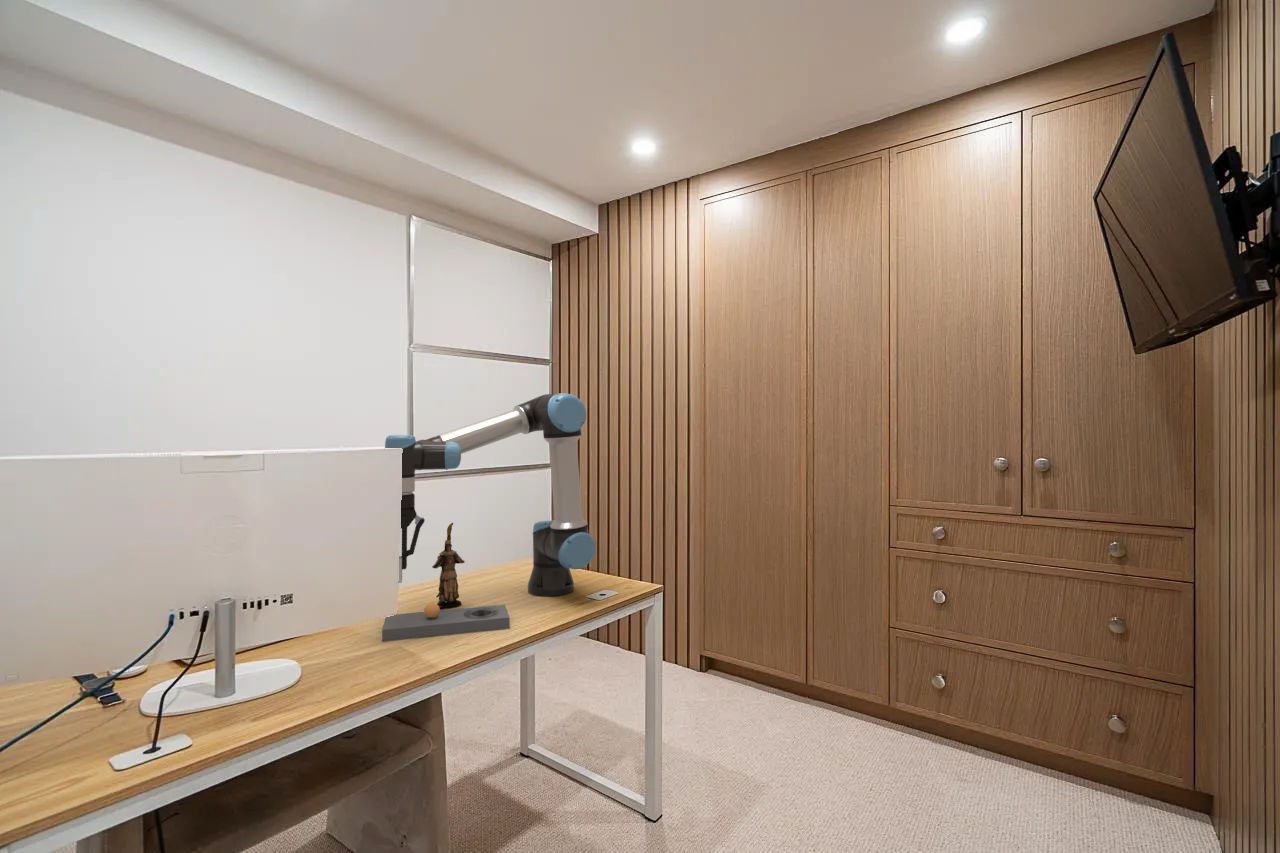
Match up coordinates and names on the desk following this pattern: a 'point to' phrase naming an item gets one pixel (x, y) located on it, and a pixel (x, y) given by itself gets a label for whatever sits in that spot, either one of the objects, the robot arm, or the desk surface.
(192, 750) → the desk surface
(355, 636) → the desk surface
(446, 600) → the figurine
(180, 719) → the desk surface
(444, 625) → the block
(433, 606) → the ball
